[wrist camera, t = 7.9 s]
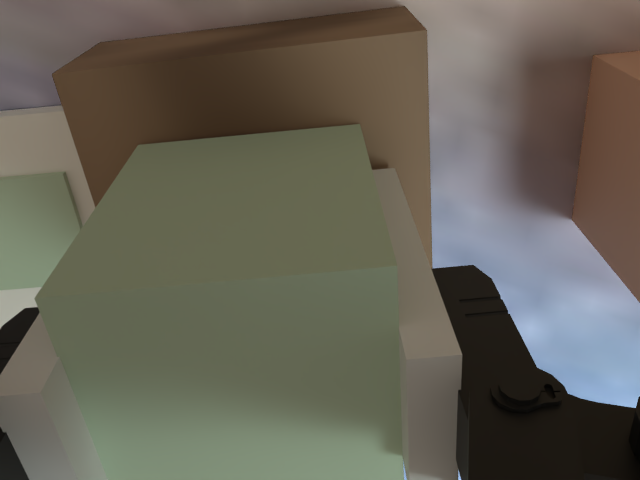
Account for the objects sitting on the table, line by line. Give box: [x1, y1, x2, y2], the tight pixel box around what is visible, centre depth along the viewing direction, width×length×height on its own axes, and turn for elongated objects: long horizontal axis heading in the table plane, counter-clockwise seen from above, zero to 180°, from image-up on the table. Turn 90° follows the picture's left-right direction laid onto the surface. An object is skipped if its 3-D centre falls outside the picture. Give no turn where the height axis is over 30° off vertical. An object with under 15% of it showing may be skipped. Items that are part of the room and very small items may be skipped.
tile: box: [0, 105, 95, 329], centre depth 18 cm, size 7×7×1 cm
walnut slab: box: [52, 6, 432, 269], centre depth 16 cm, size 8×8×4 cm
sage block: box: [34, 124, 404, 480], centre depth 12 cm, size 5×5×6 cm
